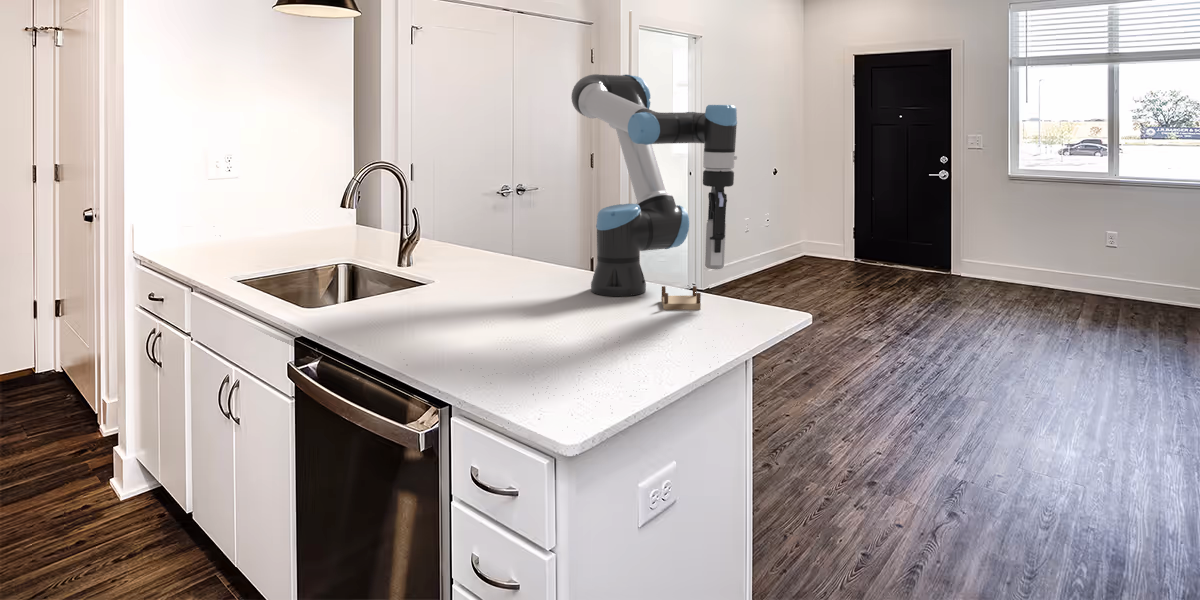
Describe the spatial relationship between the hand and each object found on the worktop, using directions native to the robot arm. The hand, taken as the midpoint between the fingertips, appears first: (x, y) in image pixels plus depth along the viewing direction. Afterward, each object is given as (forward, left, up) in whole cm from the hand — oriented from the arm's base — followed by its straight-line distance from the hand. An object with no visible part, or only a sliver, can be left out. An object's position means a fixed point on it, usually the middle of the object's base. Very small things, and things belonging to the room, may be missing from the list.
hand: (714, 262), depth 193 cm
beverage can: (0, 0, -2) cm, 2 cm away
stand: (-3, -8, -11) cm, 14 cm away
